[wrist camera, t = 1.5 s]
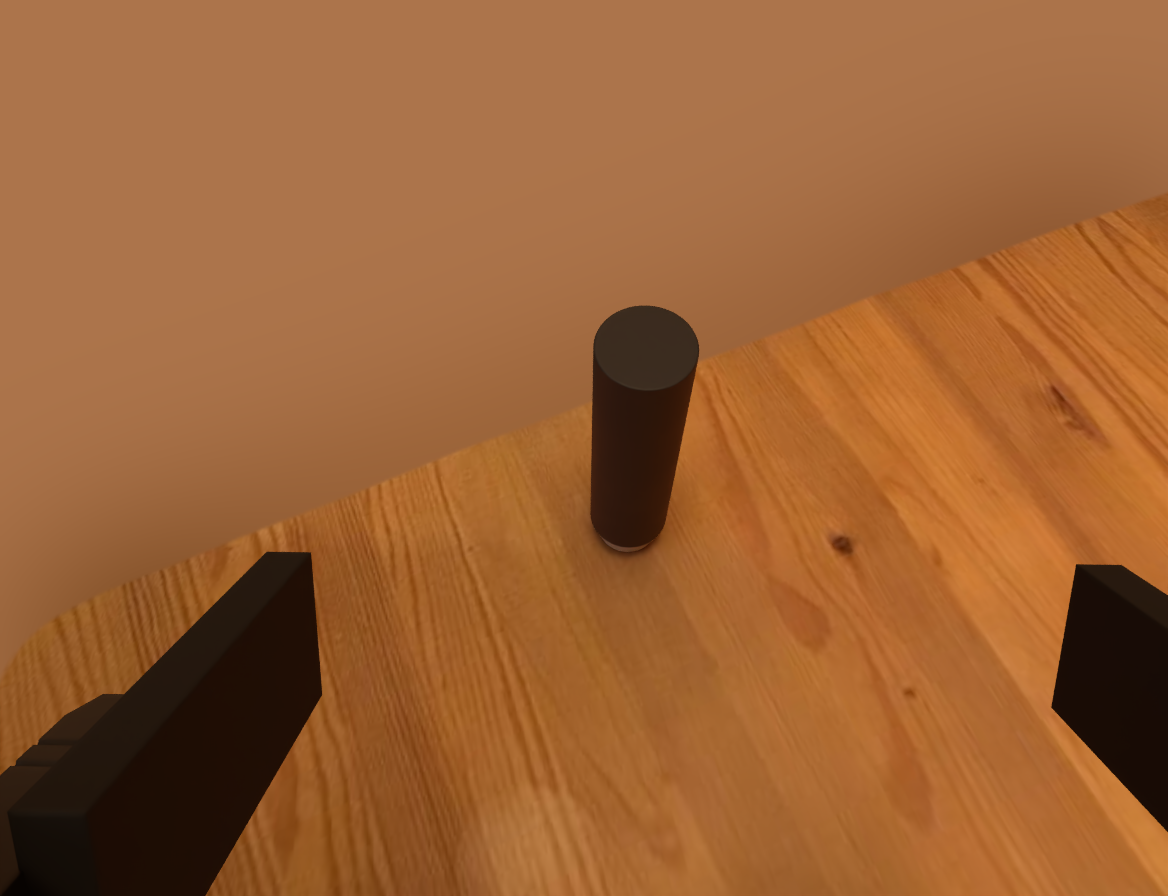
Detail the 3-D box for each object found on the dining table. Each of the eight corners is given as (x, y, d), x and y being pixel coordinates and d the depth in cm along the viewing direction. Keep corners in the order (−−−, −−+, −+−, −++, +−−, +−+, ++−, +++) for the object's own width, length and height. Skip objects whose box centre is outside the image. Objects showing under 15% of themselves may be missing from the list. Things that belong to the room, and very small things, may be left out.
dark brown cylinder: (583, 551, 36) (583, 379, 25) (598, 486, 38) (605, 297, 26) (656, 565, 36) (690, 399, 25) (668, 499, 37) (706, 314, 26)
